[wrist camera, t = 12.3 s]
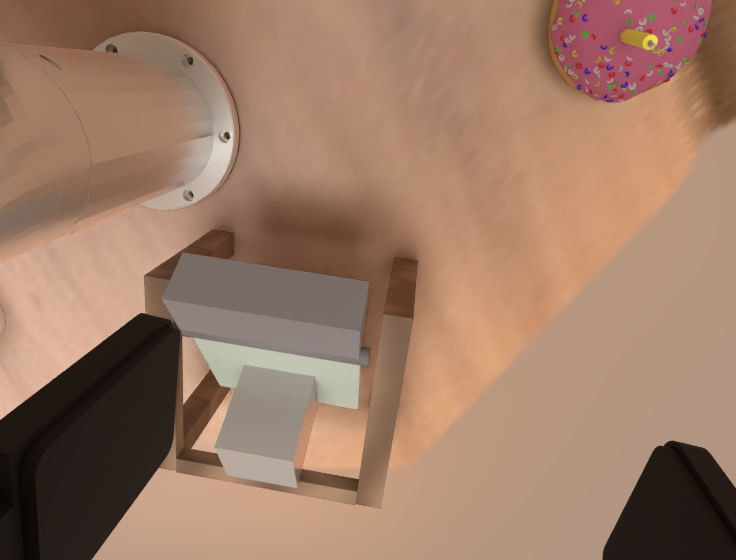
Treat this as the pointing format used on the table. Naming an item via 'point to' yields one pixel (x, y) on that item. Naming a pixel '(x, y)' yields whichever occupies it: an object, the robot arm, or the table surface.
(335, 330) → the trapdoor
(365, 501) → the stand
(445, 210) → the table surface
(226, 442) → the stone
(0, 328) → the dixie cup
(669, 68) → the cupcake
